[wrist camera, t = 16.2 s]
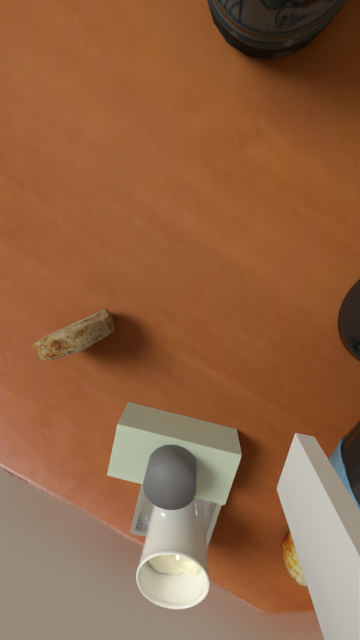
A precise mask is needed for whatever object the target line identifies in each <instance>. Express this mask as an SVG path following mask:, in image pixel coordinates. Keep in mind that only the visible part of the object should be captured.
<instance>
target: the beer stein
mask: <svg viewBox="0 0 360 640" xmlns="http://www.w3.org/2000/svg"><path fill="white" fill-rule="evenodd" d="M345 1H346V0H208V4H209V7H210V11H211V14H212V18H213V21H214V24H215V25H216V27H217V28H218V29H219V31H220V32H221V34H222V35H223V37H224V38H225V40H226V41H227V42H228V43H229V44H231V45H232V46H234V47H235V48H237V49H238V50H240V51H241V52H242V53H244V54H245V55H247V56H251V57H259V58H266V59H276V58H279V57H282V56H286V55H289V54H292V53H295V52H296V51H298V50H299V49H301V48H303V47H304V46H306V45H307V44H308V43H309V42H310V41H311V40H312V39H313V38H314V37H315V36H316V35H317V34H318V33H319V32H320V31H321V30H322V29H323V28H324V27H325V26H326V25H327V24H328V23H329V22H330V21H331V20H332V19H333V17H334V16H335V15H336V14H337V12H338V11H339V10H340V9H341V7H342V6H343V4H344V3H345Z"/></svg>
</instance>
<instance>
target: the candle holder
mask: <svg viewBox="0 0 360 640" xmlns="http://www.w3.org/2000/svg"><path fill="white" fill-rule="evenodd" d="M136 581H137V585H138V588H139V589H140V591H141V593H142V594H143V595H144V596H145V597H146V598H147V599H148V600H150V601H151V602H153V603H154V604H156V605H159V606H162V607H165V608H169V609H185V608H189V607H192V606H194V605H197V604H198V603H200V602H201V601H202V600H203V599H204V598H205V597H206V595H207V593H208V591H209V587H210V578H209V571H208V557H207V544H206V530H205V517H204V506H203V501H202V499H198V498H194V499H193V501H192V502H191V503H190V504H189V505H187V506H186V507H184V508H181V509H178V510H166V509H162V508H159V507H157V506H155V505H154V508H153V511H152V515H151V519H150V523H149V527H148V531H147V535H146V539H145V543H144V547H143V551H142V555H141V559H140V563H139V566H138V569H137V573H136Z"/></svg>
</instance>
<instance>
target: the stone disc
mask: <svg viewBox="0 0 360 640" xmlns="http://www.w3.org/2000/svg"><path fill="white" fill-rule="evenodd" d="M114 330H115V325H114V321H113V318H112V315H111V313H110V312H109V311H108V310H107V309H105V310H102V311H100V312H98V313H95V314H93V315H91V316H89V317H87V318H84V319H82V320H79V321H77V322H74V323H73V324H70V325H68V326H66V327H64V328H62V329H60V330H58V331H56V332H54V333H51V334H50V335H47V336H45V337H44V338H42V339H40V340H39V341H37V342H35V343H33V344H32V347H33V349H34V351H35V353H36V355H37V356H38V357H39V359H41V360H42V361H47V360H54V359H56V358H59V357H64V356H67V355H71V354H75V353H77V352H80V351H82V350H84V349H86V348H88V347H90V346H91V345H93V344H94V343H96V342H98V341H99V340H101V339H102V338H104V337H106V336H108V335H109V334H111V333H112V332H113V331H114Z"/></svg>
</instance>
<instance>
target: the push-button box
mask: <svg viewBox="0 0 360 640" xmlns="http://www.w3.org/2000/svg"><path fill="white" fill-rule="evenodd" d="M241 457H242V453H241V448H240V443H239V438H238V433H237V429H235V428H231V427H227V426H223V425H219V424H215V423H211V422H207V421H203V420H199V419H195V418H191V417H187V416H183V415H179V414H175V413H171V412H167V411H163V410H159V409H155V408H151V407H147V406H143V405H139V404H135V403H131V402H128V404H127V406H126V408H125V410H124V412H123V414H122V416H121V418H120V420H119V422H118V424H117V429H116V434H115V439H114V444H113V449H112V454H111V459H110V464H109V469H108V474H107V475H108V476H112V477H116V478H120V479H123V480H127V481H131V482H135V483H139V484H143V491H144V494H145V496H146V497H147V499H148V500H149V501H150V502H151V503H152V504H154V505H155V506H157V507H159V508H162V509H166V510H178V509H181V508H184V507H186V506H187V505H189V504H190V503H191V502H192V501H193V499H194V498H198V499H202V500H206V501H210V502H214V503H217V504H221V505H225V504H226V501H227V498H228V495H229V492H230V489H231V486H232V483H233V480H234V477H235V474H236V471H237V468H238V465H239V462H240V459H241Z"/></svg>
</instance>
